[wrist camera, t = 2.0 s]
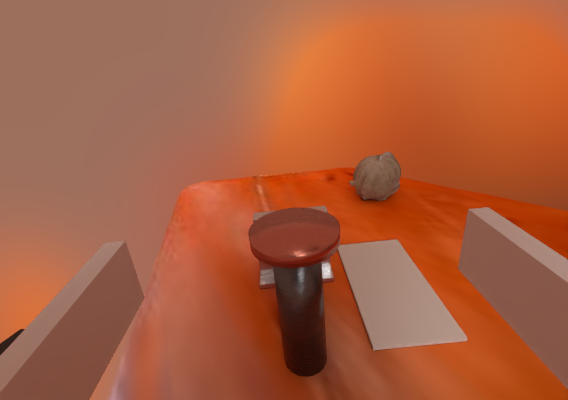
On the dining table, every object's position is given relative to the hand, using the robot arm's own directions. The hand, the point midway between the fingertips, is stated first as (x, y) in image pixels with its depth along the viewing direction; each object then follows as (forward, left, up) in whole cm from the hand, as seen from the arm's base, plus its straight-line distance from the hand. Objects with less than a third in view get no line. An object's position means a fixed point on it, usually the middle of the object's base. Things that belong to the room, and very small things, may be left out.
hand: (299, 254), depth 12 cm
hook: (0, -19, -19) cm, 27 cm away
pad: (-11, -20, -19) cm, 30 cm away
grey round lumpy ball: (-17, -45, -19) cm, 52 cm away
